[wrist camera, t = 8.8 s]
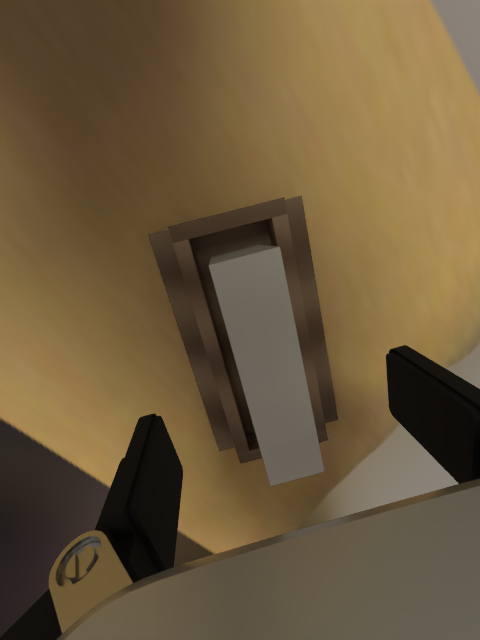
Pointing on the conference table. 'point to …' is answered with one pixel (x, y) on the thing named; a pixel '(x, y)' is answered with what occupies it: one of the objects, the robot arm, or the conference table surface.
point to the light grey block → (268, 359)
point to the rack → (207, 320)
